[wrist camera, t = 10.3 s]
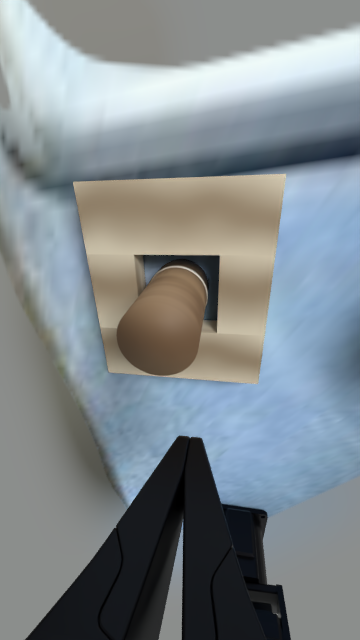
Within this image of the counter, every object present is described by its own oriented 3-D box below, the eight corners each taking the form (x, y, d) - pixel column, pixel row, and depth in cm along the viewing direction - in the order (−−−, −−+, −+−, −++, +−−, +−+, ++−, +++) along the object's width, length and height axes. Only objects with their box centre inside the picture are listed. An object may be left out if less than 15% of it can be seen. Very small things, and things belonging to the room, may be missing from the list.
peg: (208, 312, 20) (199, 379, 13) (156, 309, 21) (121, 373, 14) (209, 258, 18) (200, 304, 11) (152, 258, 19) (109, 300, 12)
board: (255, 368, 22) (258, 384, 20) (117, 358, 24) (108, 372, 22) (279, 175, 15) (286, 173, 14) (88, 182, 17) (73, 182, 16)
